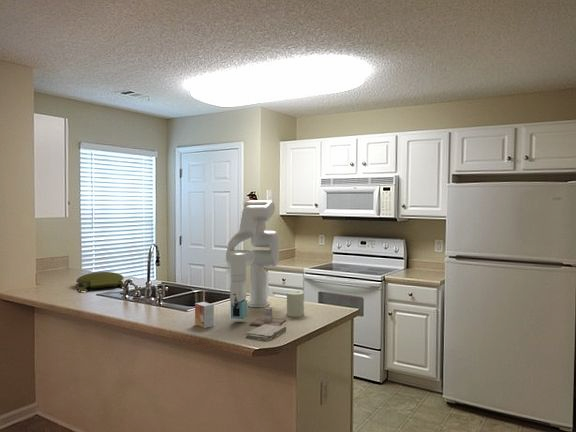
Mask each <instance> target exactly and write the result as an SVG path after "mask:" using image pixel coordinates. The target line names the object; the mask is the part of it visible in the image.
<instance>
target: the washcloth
mask: <svg viewBox="0 0 576 432" xmlns="http://www.w3.org/2000/svg"><path fill="white" fill-rule="evenodd" d="M286 331H287V326H284V325H283V326H282V325H280V326H273V325H266V324H264V325H262V326H256V328H254V329H252V330H250V331H248V332H246V333H245V335H246V337H245V338H247V339H251V340H257V339H260V340H259V341H263V340H265V342H268V341H271V340H272V339H271V338H273V337H275V338H276V336H277V335H278V336H280V335H282V334H283V333H285V332H286ZM281 333H282V334H281ZM279 334H280V335H279ZM278 336H277V337H278ZM270 339H271V340H270ZM273 339H274V338H273Z"/></svg>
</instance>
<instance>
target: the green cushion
mask: <svg viewBox="0 0 576 432" xmlns="http://www.w3.org/2000/svg"><path fill="white" fill-rule="evenodd" d="M123 280H124V276H123V275H122V274H120V273H118V272H113V271H96V272H90V273H87V274H83V275H81V276H79V277H78V278H77V279H76V283H75V285H76V286H77V287H76V286H75V287H76V289H77V288H78V289H79V290H80V291H87V290H88V288H89V289H98V288H109V287H119V286H120V287H121V289H122V287H123V282H124V281H123ZM118 285H119V286H118ZM120 287H119V288H120ZM78 289H77V290H78ZM79 290H78V291H79Z"/></svg>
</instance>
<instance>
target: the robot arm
mask: <svg viewBox="0 0 576 432" xmlns="http://www.w3.org/2000/svg"><path fill="white" fill-rule="evenodd" d="M275 210H276V205H275V201H273V200H269V199H268V200H267V199H266V200H265V199H263V200H262V199H261V200H259V199H257V200H256V199H252V200H246V201H245V202H244V204H243V209H242V211H241V218H240V224H239V230H238V231H237V232H236V233H235V234H234V235H233V236H232V237H231V239H230V240H229V241H228V244H227V248H226V253H225V260H226V263H227V264H228V265H230V291H229V301H230V305H231V304H232V306H233V316H240V311H239V302H241V301H242V300H246V299H247V266H248V267H249V299H250V301H249V302H248V301H247V307H249V308H265V307H270V305H271V304H270V302H269V301H267V300H268V295H267V293H268V290H267V289H268V288H267V285H268V282H267V280H268V279H267V272H266V270H265V269H264V267H265V268H275V267H277V266H278V265H279V262H280V237H279V233H278V232H277V231H275V230H267V229H266V227H267V226H266V225H267V224H266V223H267V222H268V221H269V220H271V218H272V217H273V215H274V213H275ZM249 239H250V244H251V246H252V247H254V248H265V249H254V250H253V249H252V250H247V249H243V250H242V249H236V247H237V246H238V245H239V244H240V243H242V242H244V241H246V240H249ZM267 248H269V249H267ZM235 300H236V301H237V302H236V301H235ZM235 303H237V304H235Z"/></svg>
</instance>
